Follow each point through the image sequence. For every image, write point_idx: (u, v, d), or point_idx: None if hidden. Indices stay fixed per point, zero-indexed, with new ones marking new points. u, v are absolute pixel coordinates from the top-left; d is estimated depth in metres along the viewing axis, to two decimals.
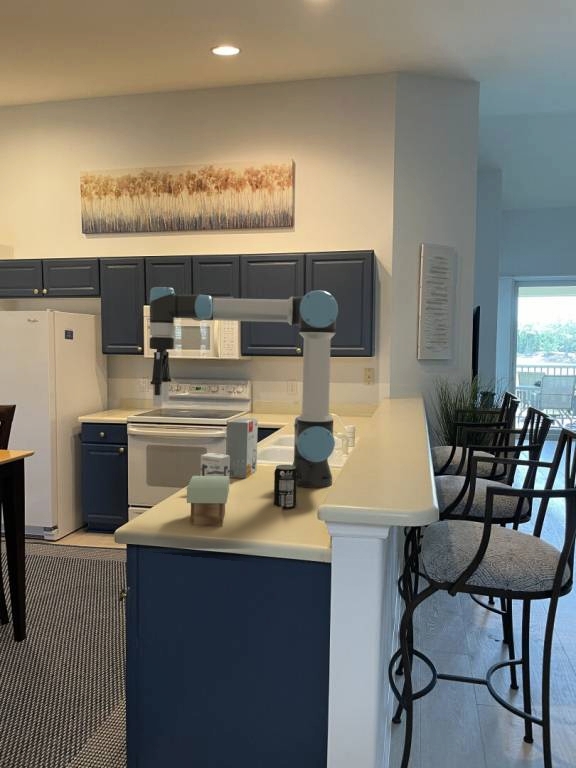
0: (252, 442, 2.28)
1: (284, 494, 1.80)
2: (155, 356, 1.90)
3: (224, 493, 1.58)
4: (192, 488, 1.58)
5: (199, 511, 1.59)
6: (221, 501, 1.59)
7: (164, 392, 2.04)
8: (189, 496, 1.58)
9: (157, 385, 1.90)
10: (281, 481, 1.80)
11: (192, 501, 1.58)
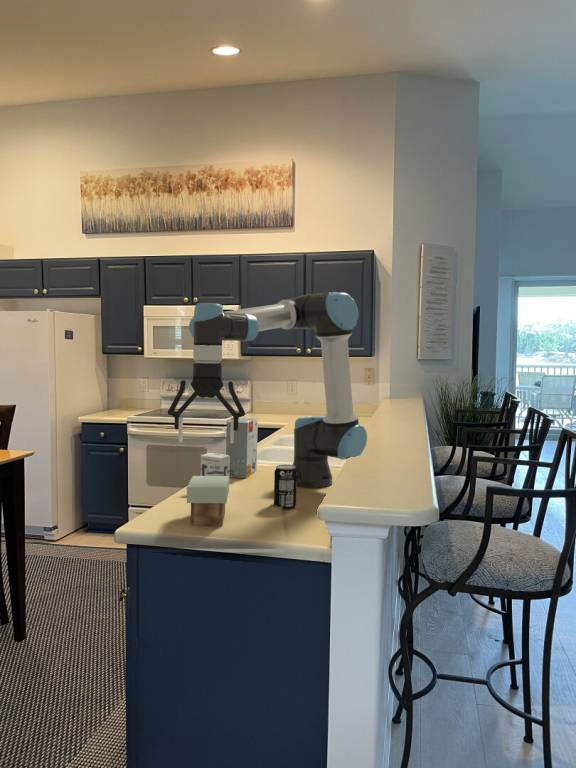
0: (252, 442, 2.28)
1: (284, 494, 1.80)
2: None
3: (224, 493, 1.58)
4: (192, 488, 1.58)
5: (199, 511, 1.59)
6: (221, 501, 1.59)
7: None
8: (189, 496, 1.58)
9: None
10: (281, 481, 1.80)
11: (192, 501, 1.58)
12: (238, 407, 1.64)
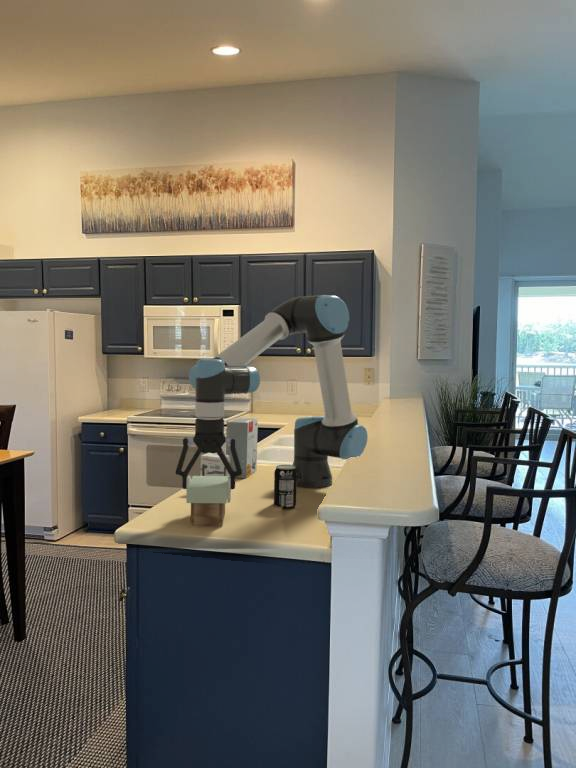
0: (252, 442, 2.28)
1: (284, 494, 1.80)
2: None
3: (224, 493, 1.58)
4: (192, 488, 1.58)
5: (199, 511, 1.59)
6: (221, 501, 1.59)
7: None
8: (189, 496, 1.58)
9: None
10: (281, 481, 1.80)
11: (192, 501, 1.58)
12: (236, 466, 1.64)
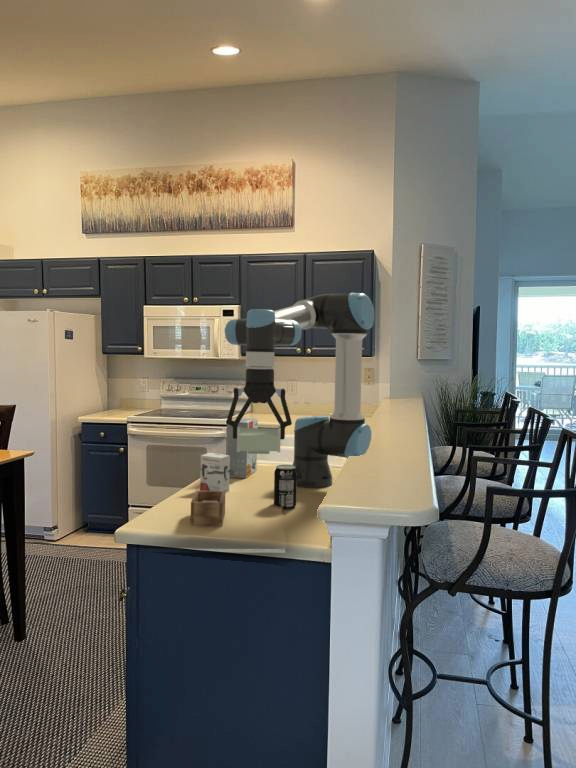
0: None
1: (284, 494, 1.80)
2: None
3: (276, 441, 1.60)
4: (244, 436, 1.59)
5: (199, 511, 1.59)
6: (273, 449, 1.60)
7: None
8: (241, 444, 1.59)
9: None
10: (281, 481, 1.80)
11: (244, 449, 1.59)
12: (286, 416, 1.65)
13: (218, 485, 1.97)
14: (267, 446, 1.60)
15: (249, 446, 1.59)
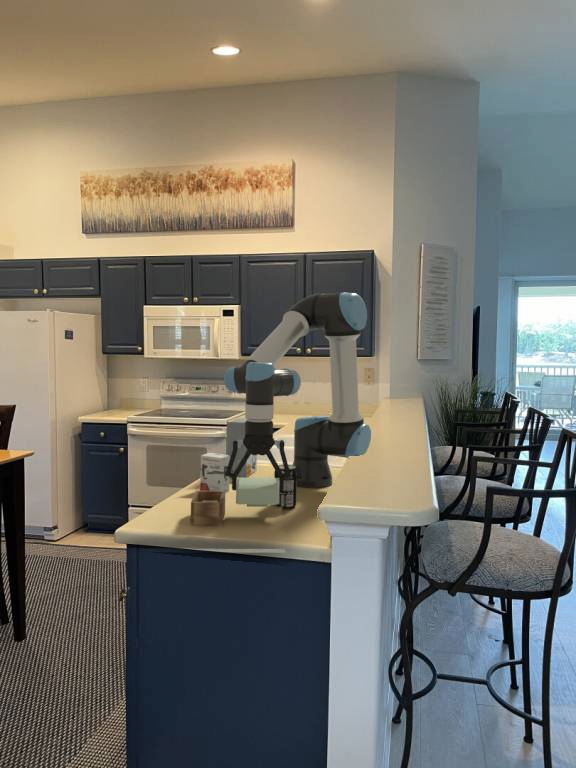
0: None
1: (284, 494, 1.80)
2: None
3: (275, 495, 1.60)
4: (243, 489, 1.60)
5: (199, 511, 1.59)
6: (272, 502, 1.61)
7: None
8: (240, 497, 1.60)
9: None
10: None
11: (243, 502, 1.60)
12: (285, 467, 1.66)
13: (218, 485, 1.97)
14: (266, 499, 1.60)
15: (248, 499, 1.60)
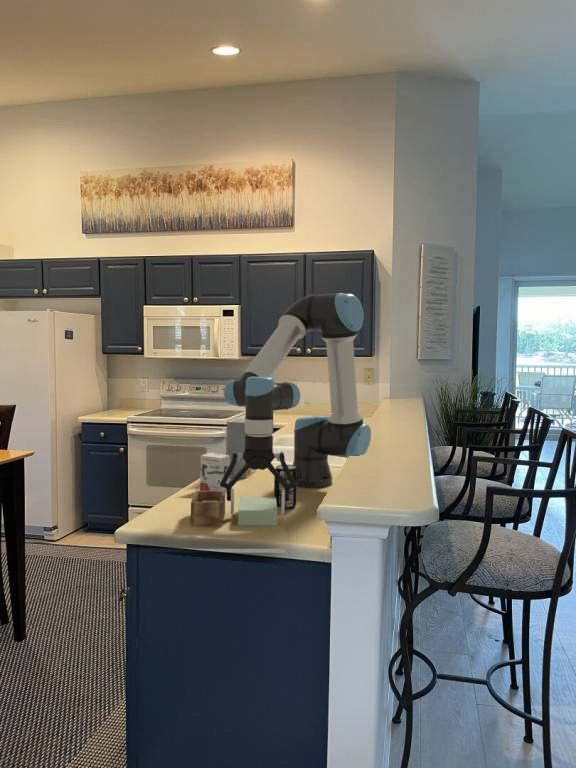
0: None
1: None
2: None
3: (275, 516, 1.61)
4: (243, 511, 1.60)
5: (199, 511, 1.59)
6: (272, 523, 1.61)
7: None
8: (240, 519, 1.61)
9: None
10: None
11: (243, 524, 1.61)
12: (289, 479, 1.66)
13: (218, 485, 1.97)
14: (266, 521, 1.61)
15: (248, 521, 1.61)
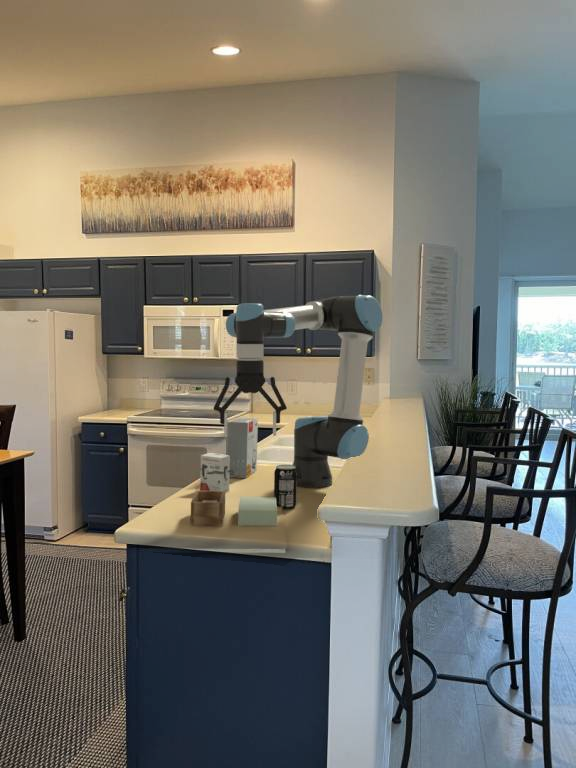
0: (252, 442, 2.28)
1: (284, 494, 1.80)
2: None
3: (275, 516, 1.61)
4: (243, 511, 1.60)
5: (199, 511, 1.59)
6: (272, 523, 1.61)
7: None
8: (240, 519, 1.61)
9: (220, 413, 1.73)
10: (281, 481, 1.80)
11: (243, 524, 1.61)
12: (280, 401, 1.73)
13: (218, 485, 1.97)
14: (266, 521, 1.61)
15: (248, 521, 1.61)
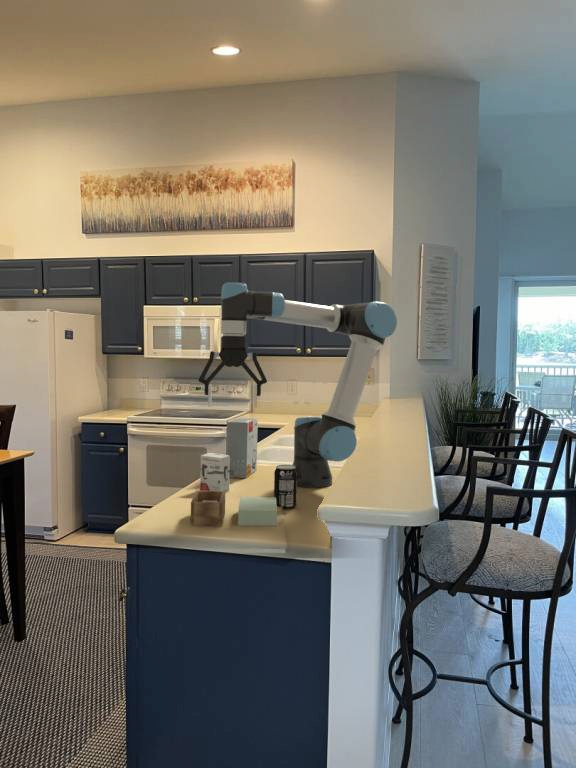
0: (252, 442, 2.28)
1: (284, 494, 1.80)
2: None
3: (275, 516, 1.61)
4: (243, 511, 1.60)
5: (199, 511, 1.59)
6: (272, 523, 1.61)
7: None
8: (240, 519, 1.61)
9: (204, 384, 1.86)
10: (281, 481, 1.80)
11: (243, 524, 1.61)
12: (261, 375, 1.85)
13: (218, 485, 1.97)
14: (266, 521, 1.61)
15: (248, 521, 1.61)
